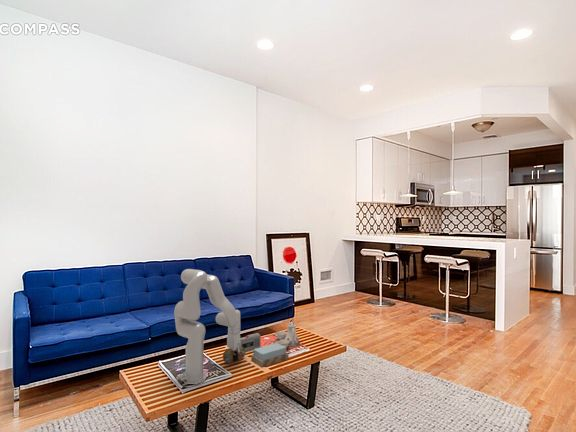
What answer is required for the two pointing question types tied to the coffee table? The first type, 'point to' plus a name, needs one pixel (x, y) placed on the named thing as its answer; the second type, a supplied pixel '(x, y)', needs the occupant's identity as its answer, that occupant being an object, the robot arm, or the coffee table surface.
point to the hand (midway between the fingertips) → (234, 359)
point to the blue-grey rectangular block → (269, 351)
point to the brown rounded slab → (229, 355)
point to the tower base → (269, 360)
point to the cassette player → (251, 342)
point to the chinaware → (288, 336)
